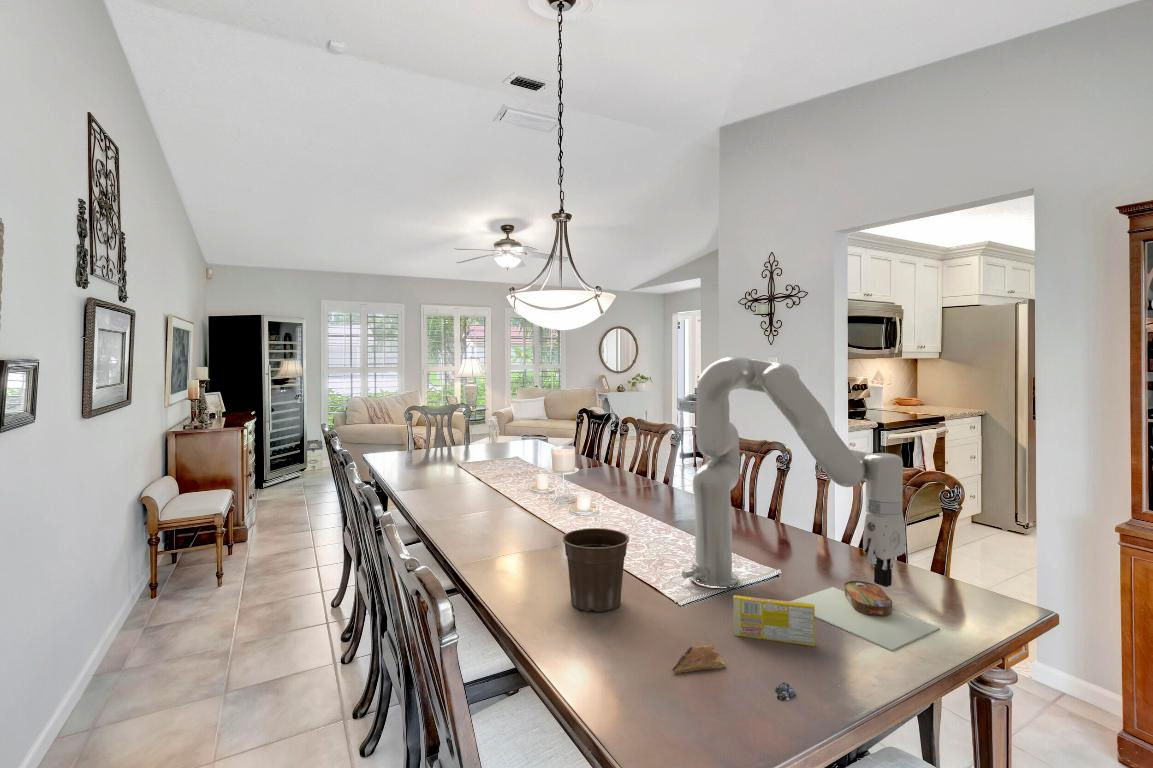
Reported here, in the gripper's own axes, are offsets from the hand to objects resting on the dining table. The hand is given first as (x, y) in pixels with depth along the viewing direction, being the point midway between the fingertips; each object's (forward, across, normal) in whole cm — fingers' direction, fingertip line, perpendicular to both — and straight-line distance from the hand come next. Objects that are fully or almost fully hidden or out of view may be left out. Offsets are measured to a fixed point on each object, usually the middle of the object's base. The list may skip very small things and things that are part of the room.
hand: (882, 584), depth 132 cm
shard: (+7, -53, +4) cm, 53 cm away
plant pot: (+6, -54, +39) cm, 67 cm away
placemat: (+6, -8, +1) cm, 10 cm away
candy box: (+6, -33, +4) cm, 34 cm away
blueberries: (+7, -47, -10) cm, 48 cm away
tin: (+5, +3, 0) cm, 5 cm away
